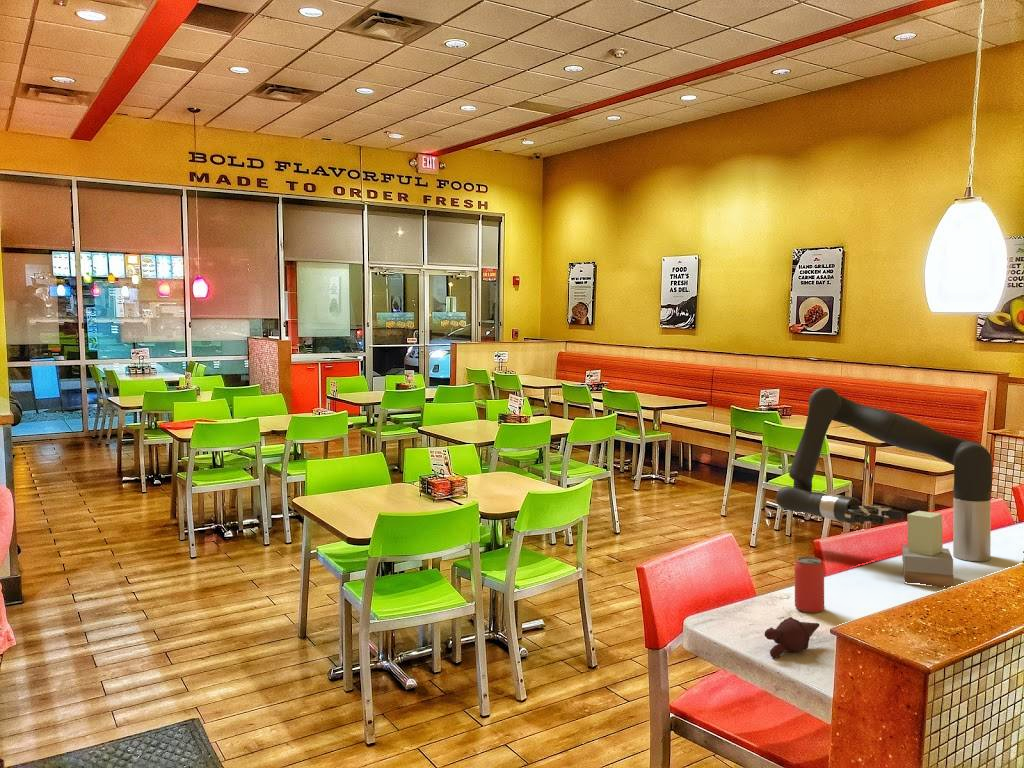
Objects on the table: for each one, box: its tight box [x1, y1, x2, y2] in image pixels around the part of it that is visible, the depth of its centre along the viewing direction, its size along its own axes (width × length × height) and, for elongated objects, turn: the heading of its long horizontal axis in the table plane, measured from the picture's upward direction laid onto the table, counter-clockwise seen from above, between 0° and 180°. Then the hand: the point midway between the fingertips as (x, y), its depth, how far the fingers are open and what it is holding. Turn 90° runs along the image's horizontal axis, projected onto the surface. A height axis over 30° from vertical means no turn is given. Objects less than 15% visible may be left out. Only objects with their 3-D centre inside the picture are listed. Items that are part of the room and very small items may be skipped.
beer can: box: [793, 556, 825, 614], centre depth 182 cm, size 7×7×12 cm
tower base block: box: [902, 565, 954, 589], centre depth 201 cm, size 11×11×4 cm
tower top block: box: [901, 545, 954, 576], centre depth 200 cm, size 11×11×4 cm
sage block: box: [906, 510, 944, 556], centre depth 200 cm, size 6×6×10 cm
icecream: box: [764, 616, 820, 658], centre depth 158 cm, size 7×7×15 cm
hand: (893, 518), depth 208 cm, fingers open, 8 cm apart
